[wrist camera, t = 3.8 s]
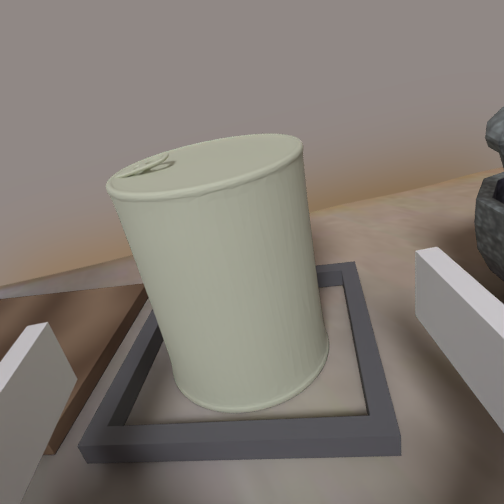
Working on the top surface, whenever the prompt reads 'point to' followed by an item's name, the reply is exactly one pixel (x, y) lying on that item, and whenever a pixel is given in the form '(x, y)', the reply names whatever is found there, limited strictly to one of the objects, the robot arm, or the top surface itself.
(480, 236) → the mortar and pestle
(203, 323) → the can
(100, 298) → the walnut board
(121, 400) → the grey picture frame
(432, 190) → the top surface
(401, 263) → the top surface
